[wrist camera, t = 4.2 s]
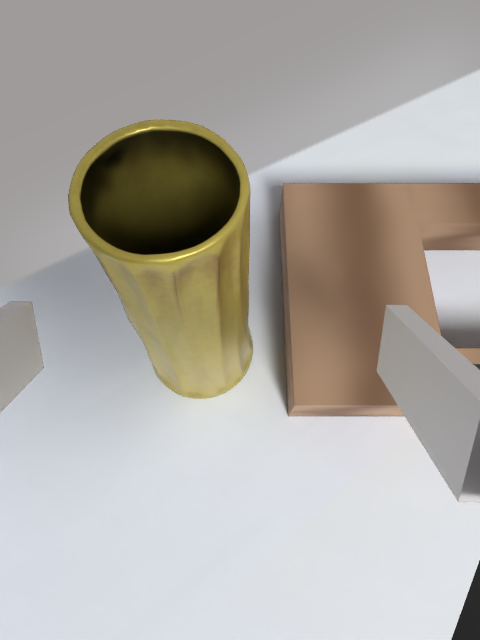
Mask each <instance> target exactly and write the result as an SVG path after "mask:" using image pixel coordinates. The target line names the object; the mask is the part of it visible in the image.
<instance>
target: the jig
mask: <svg viewBox="0 0 480 640" xmlns="http://www.w3.org/2000/svg"><path fill="white" fill-rule="evenodd" d="M279 220H280V242H281V265H282V287H283V309H284V331H285V353H286V375H287V397H288V416H404V414H403V413H402V411H401V409H400V408H399V406H398V405H397V403H396V401H395V400H394V398H393V397H392V395H391V393H390V392H389V390H388V389H387V387H386V385H385V384H384V382H383V381H382V379H381V377H380V376H379V374H378V373H377V365H378V358H379V351H380V344H381V337H382V330H383V323H384V316H385V309H386V305H407V306H408V307H410V308H411V309H412V310H413V311H414V312H415V313H416V314H417V315H419V316H420V317H421V318H422V319H423V320H424V321H425V322H426V323H428V324H429V325H430V326H431V327H432V328H433V329H434V330H435V331H436V332H438V333H439V334H440V335H441V332H440V327H439V322H438V317H437V312H436V307H435V302H434V298H433V293H432V288H431V283H430V278H429V273H428V268H427V264H426V259H425V254H424V250H480V183H376V184H283V189H282V197H281V204H280V211H279ZM456 349H457V350H458V351H459V352H460V353H461V354H462V355H463V356H465V357H466V358H467V359H468V360H469V361H470V362H471V363H472V364H480V348H456Z"/></svg>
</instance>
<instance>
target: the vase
mask: <svg viewBox="0 0 480 640" xmlns="http://www.w3.org/2000/svg"><path fill="white" fill-rule="evenodd" d="M68 201H69V211H70V215H71V217H72V219H73V221H74V223H75V225H76V227H77V228H78V230H79V232H80V233H81V235H82V236H83V238H84V239H85V241H86V242H87V243H88V245H89V246H90V248H91V249H92V250H93V252H94V254H95V255H96V257H97V259H98V260H99V262H100V264H101V265H102V267H103V269H104V271H105V272H106V274H107V276H108V277H109V279H110V281H111V282H112V284H113V286H114V287H115V289H116V290H117V292H118V294H119V296H120V299H121V302H122V304H123V307H124V309H125V312H126V314H127V317H128V319H129V321H130V323H131V324H132V326H133V327H134V329H135V330H136V332H137V333H138V335H139V336H140V338H141V339H142V341H143V342H144V345H145V347H146V350H147V353H148V355H149V358H150V360H151V362H152V364H153V367H154V370H155V372H156V374H157V376H158V377H159V379H160V380H161V381H162V382H163V383H164V384H165V385H166V386H167V387H168V388H169V389H171V390H172V391H174V392H176V393H177V394H179V395H182V396H185V397H189V398H211V397H215V396H218V395H221V394H223V393H225V392H227V391H228V390H230V389H232V388H233V387H234V386H235V385H237V384H238V383H239V382H240V381H241V379H242V378H243V377H244V375H245V374H246V372H247V370H248V368H249V366H250V363H251V360H252V354H253V343H252V338H251V334H250V330H249V327H248V307H249V290H248V275H249V244H250V183H249V178H248V174H247V171H246V168H245V165H244V163H243V162H242V160H241V158H240V157H239V156H238V154H237V153H236V152H235V151H234V150H233V148H232V147H231V146H230V145H229V144H228V143H227V142H226V141H225V140H224V139H223V138H222V137H220V136H219V135H217V134H216V133H214V132H212V131H210V130H209V129H207V128H205V127H203V126H200V125H197V124H194V123H190V122H185V121H175V120H148V121H142V122H138V123H135V124H132V125H129V126H126V127H123V128H121V129H119V130H117V131H114V132H112V133H111V134H109V135H108V136H106V137H105V138H103V139H102V140H101V141H100V142H98V143H97V144H96V145H95V146H94V147H92V148H91V149H90V150H89V151H88V152H87V153H86V155H85V156H84V157H83V158H82V160H81V161H80V163H79V164H78V166H77V168H76V170H75V172H74V175H73V178H72V181H71V185H70V189H69V194H68Z"/></svg>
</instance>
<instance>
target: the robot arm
mask: <svg viewBox="0 0 480 640" xmlns="http://www.w3.org/2000/svg"><path fill="white" fill-rule="evenodd" d="M43 368H44V365H43V360H42V354H41V349H40V344H39V338H38V333H37V328H36V322H35V317H34V312H33V306H32V302H22V301H11V302H9V303H8V304H6V305H4V306H3V307H1V308H0V412H1V411H2V410H3V409H4V408H5V407H6V406H7V405H8V404H9V403H10V402H11V401H12V400H13V399H14V398H15V397H16V396H17V395H18V394H19V393H20V392H21V391H22V390H23V389H24V388H25V387H26V386H27V385H28V384H29V383H30V382H31V381H32V380H33V378H34V377H35V376H36V375H37V374H38V373H39V372H40V371H41V370H42V369H43ZM377 373H378V374H379V376H380V377H381V379H382V381H383V382H384V384H385V385H386V387H387V389H388V390H389V392H390V393H391V395H392V397H393V398H394V400H395V401H396V403H397V405H398V406H399V408H400V409H401V411H402V413H403V414H404V416H405V417H406V419H407V421H408V422H409V424H410V425H411V427H412V429H413V430H414V432H415V433H416V435H417V437H418V438H419V440H420V441H421V443H422V445H423V446H424V448H425V449H426V451H427V453H428V454H429V456H430V457H431V459H432V461H433V462H434V464H435V465H436V467H437V469H438V470H439V472H440V474H441V475H442V477H443V478H444V480H445V482H446V483H447V485H448V486H449V488H450V490H451V491H452V493H453V494H454V496H455V498H456V499H457V501H458V502H480V364H472V363H471V362H470V361H469V360H468V359H467V358H466V357H465V356H463V355H462V354H461V353H460V352H459V351H458V350H457V349H456V348H454V347H453V346H452V345H451V344H450V343H449V342H448V341H447V340H445V339H444V338H443V337H442V336H441V335H440V334H439V333H438V332H436V331H435V330H434V329H433V328H432V327H431V326H430V325H429V324H428V323H426V322H425V321H424V320H423V319H422V318H421V317H420V316H419V315H417V314H416V313H415V312H414V311H413V310H412V309H411V308H410V307H408V306H407V305H386V309H385V316H384V323H383V330H382V337H381V344H380V351H379V358H378V365H377ZM452 640H480V561H479V564H478V567H477V570H476V572H475V575H474V578H473V581H472V584H471V586H470V589H469V592H468V595H467V598H466V600H465V603H464V606H463V609H462V612H461V614H460V617H459V620H458V623H457V626H456V628H455V631H454V634H453V637H452Z"/></svg>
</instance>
